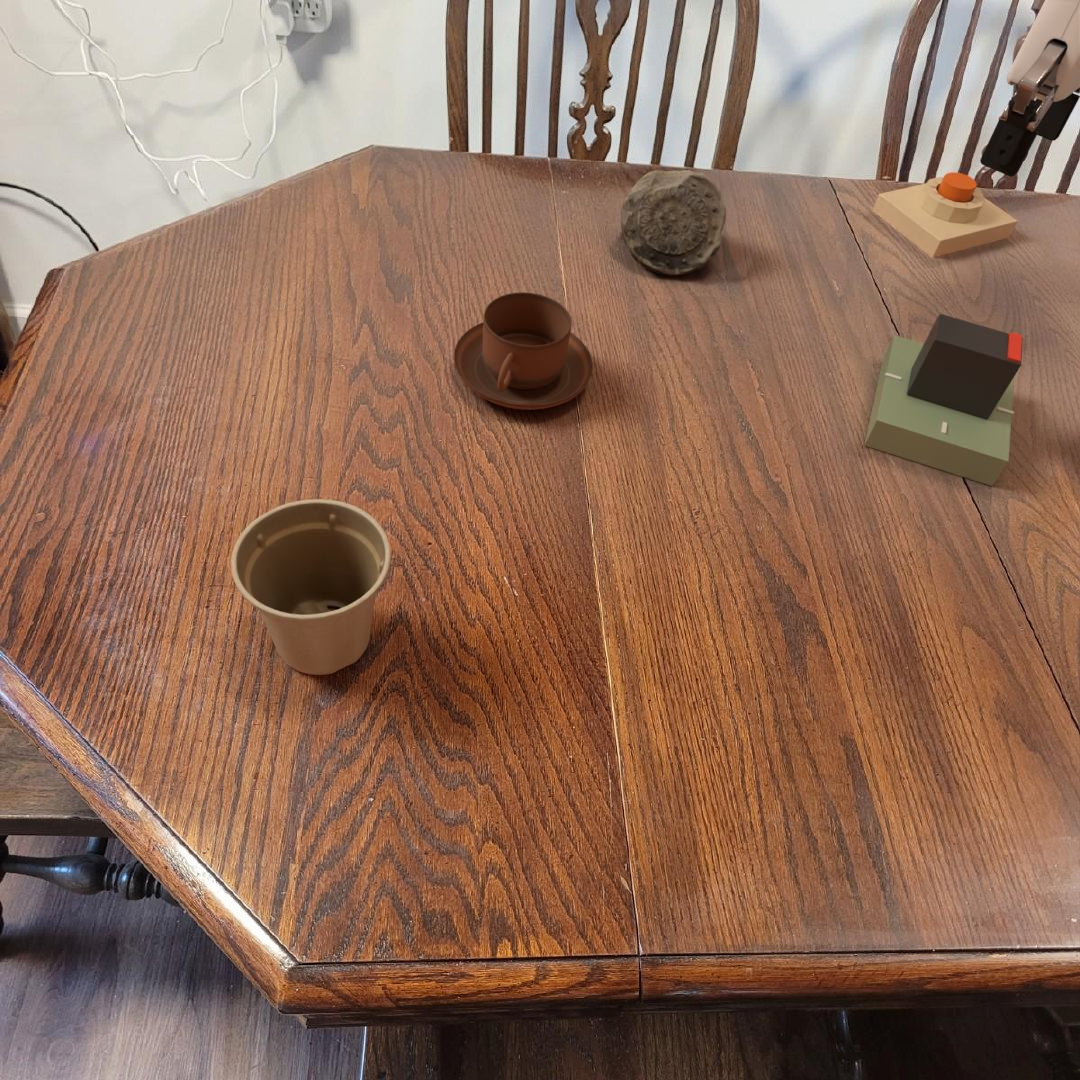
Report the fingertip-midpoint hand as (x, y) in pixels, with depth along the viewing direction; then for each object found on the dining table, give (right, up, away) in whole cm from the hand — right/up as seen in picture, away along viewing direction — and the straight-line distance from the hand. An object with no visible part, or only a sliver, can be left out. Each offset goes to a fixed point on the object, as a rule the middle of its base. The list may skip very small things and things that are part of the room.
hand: (1018, 151), depth 83 cm
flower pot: (-57, -41, -19) cm, 72 cm away
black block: (-6, -21, 0) cm, 22 cm away
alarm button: (+4, +4, +22) cm, 22 cm away
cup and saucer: (-44, -20, 0) cm, 48 cm away
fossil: (-29, -5, +15) cm, 33 cm away
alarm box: (+3, +2, +25) cm, 25 cm away
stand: (-7, -23, +2) cm, 24 cm away
